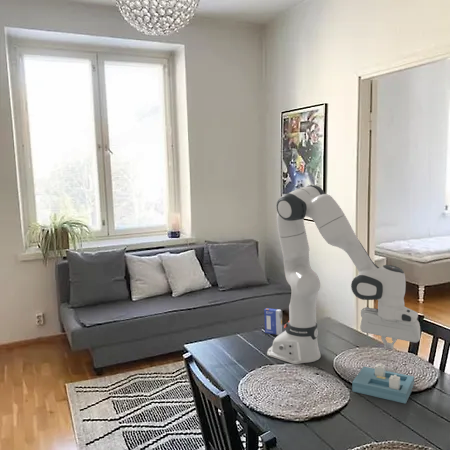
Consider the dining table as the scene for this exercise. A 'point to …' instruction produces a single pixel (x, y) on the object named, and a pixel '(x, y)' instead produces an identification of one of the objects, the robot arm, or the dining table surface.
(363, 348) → the dining table surface
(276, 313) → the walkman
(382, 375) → the tab far
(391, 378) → the tab near
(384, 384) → the switch bank
